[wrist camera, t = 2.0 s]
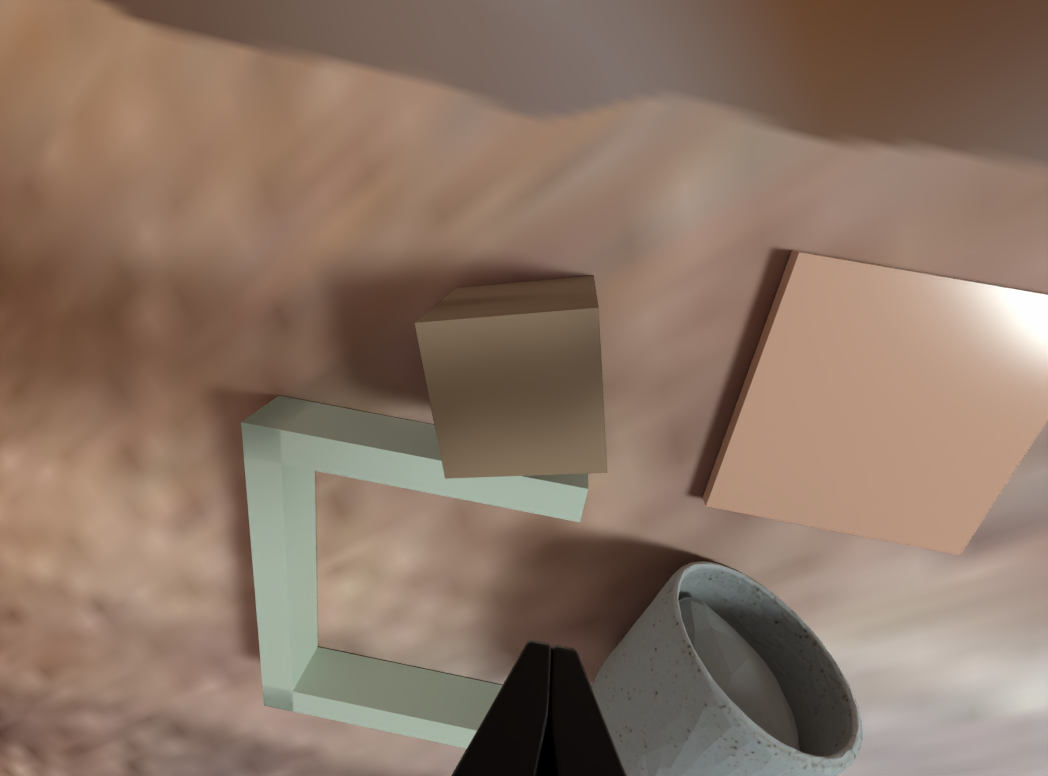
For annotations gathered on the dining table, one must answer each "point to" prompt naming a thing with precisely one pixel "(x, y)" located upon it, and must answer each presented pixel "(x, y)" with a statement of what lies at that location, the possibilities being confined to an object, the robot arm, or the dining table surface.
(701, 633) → the ceramic mug
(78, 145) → the dining table surface
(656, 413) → the dining table surface
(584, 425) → the walnut block
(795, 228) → the dining table surface
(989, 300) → the terracotta tile
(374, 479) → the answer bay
